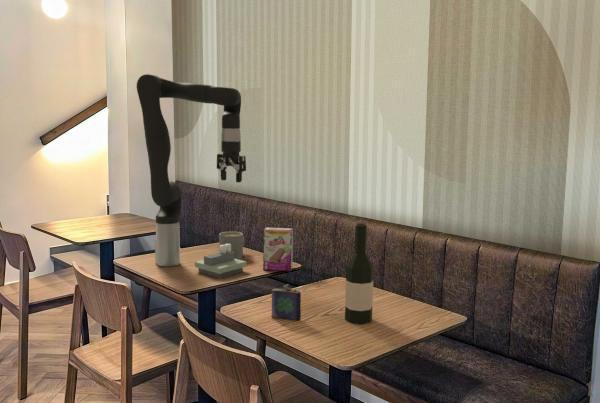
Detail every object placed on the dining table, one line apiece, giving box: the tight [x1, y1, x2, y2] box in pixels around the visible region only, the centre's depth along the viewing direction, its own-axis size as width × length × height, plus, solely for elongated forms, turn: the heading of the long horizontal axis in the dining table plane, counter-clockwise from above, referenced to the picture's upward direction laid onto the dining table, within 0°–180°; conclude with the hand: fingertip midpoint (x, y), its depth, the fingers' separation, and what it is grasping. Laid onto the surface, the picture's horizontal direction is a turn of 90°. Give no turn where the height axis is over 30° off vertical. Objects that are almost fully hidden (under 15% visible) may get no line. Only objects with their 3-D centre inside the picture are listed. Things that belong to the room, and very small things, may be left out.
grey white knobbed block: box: [203, 244, 234, 266], centre depth 234 cm, size 4×12×6 cm, turn 140°
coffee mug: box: [218, 230, 245, 260], centre depth 259 cm, size 13×10×10 cm
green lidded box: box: [194, 259, 247, 279], centre depth 235 cm, size 14×14×4 cm
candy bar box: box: [262, 226, 294, 272], centre depth 239 cm, size 11×5×16 cm, turn 84°
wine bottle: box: [344, 221, 375, 325], centre depth 183 cm, size 8×8×30 cm
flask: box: [271, 283, 302, 322], centre depth 185 cm, size 9×3×11 cm, turn 72°
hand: (231, 181), depth 240 cm, fingers open, 8 cm apart
